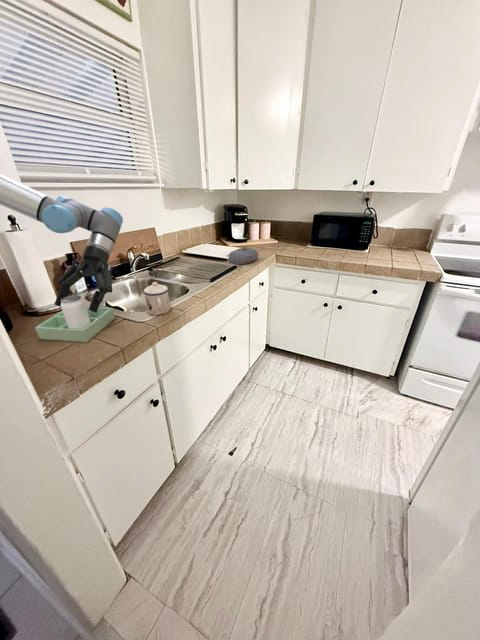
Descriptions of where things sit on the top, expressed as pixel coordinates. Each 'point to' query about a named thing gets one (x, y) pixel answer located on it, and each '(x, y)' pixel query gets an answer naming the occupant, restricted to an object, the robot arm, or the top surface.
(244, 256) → the grey rounded bag
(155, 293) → the teacup with lid
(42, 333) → the tray with compartments
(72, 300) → the can
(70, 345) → the top surface
